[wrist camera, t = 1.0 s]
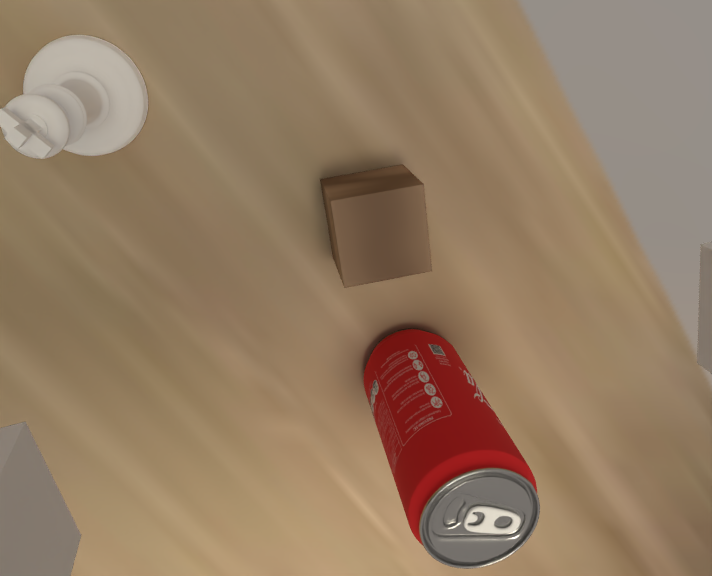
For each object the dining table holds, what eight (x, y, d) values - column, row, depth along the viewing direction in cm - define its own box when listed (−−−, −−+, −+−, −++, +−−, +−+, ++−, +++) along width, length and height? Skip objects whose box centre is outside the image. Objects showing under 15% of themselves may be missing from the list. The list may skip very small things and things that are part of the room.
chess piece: (100, 177, 29) (38, 252, 20) (0, 98, 28) (-118, 142, 18) (172, 95, 29) (141, 134, 20) (74, 7, 27) (-11, 6, 18)
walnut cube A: (333, 256, 33) (344, 288, 29) (319, 178, 31) (330, 201, 28) (411, 242, 33) (432, 270, 29) (402, 164, 32) (423, 184, 28)
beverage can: (376, 312, 34) (440, 454, 23) (467, 332, 36) (567, 475, 25) (348, 397, 36) (395, 566, 25) (435, 413, 37) (516, 580, 26)
